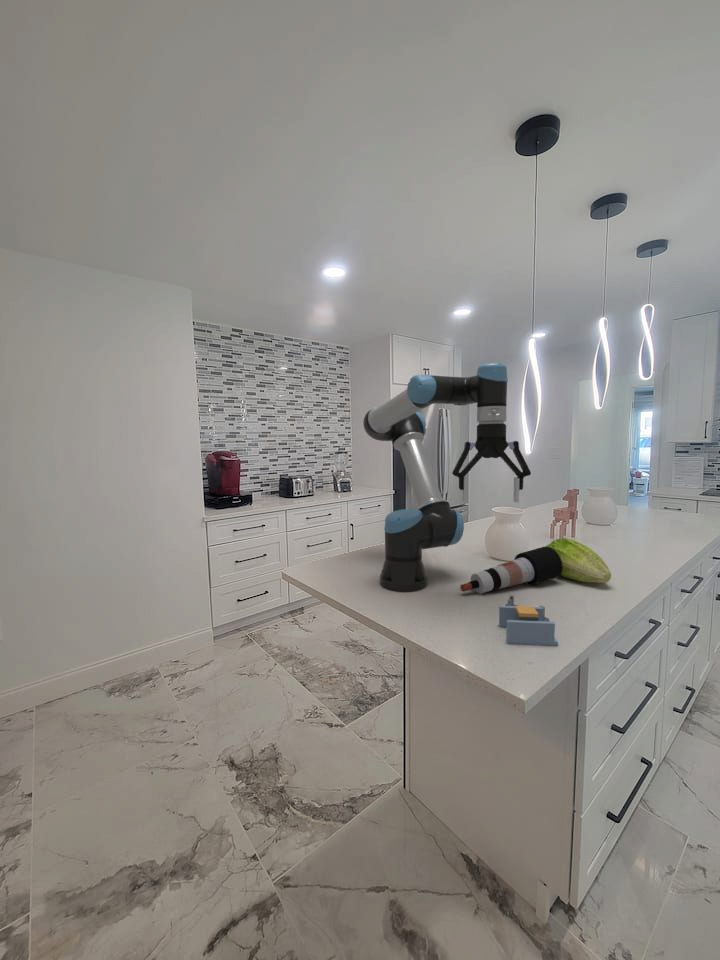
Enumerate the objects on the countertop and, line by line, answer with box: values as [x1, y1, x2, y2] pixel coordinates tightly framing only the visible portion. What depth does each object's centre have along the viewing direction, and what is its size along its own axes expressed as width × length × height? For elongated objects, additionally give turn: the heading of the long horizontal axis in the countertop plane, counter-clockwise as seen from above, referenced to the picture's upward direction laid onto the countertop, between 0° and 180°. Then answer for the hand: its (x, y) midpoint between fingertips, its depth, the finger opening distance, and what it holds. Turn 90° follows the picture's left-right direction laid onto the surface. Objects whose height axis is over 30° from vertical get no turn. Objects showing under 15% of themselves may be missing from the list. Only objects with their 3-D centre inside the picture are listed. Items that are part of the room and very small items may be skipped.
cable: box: [459, 546, 563, 595], centre depth 125 cm, size 10×34×10 cm, turn 112°
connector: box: [515, 605, 539, 621], centre depth 94 cm, size 4×4×6 cm
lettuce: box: [545, 537, 612, 583], centre depth 131 cm, size 13×22×14 cm
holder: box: [498, 605, 559, 646], centre depth 94 cm, size 11×9×5 cm
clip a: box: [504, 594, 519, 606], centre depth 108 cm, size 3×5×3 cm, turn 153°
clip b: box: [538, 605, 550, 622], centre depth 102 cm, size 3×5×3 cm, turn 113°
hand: (490, 501), depth 110 cm, fingers open, 13 cm apart
